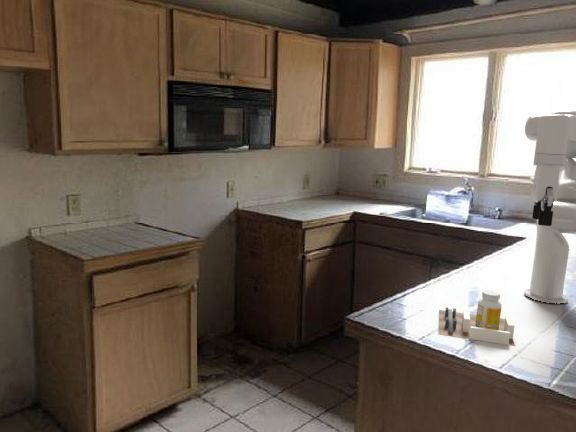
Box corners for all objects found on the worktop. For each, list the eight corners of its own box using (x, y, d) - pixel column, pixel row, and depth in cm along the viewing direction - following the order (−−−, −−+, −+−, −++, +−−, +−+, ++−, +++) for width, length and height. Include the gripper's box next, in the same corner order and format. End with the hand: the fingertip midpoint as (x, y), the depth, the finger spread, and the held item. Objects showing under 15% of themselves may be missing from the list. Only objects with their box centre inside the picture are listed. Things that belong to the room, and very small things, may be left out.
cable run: (445, 312, 143) (445, 305, 143) (454, 313, 142) (455, 306, 142) (445, 333, 128) (445, 324, 128) (456, 334, 127) (457, 326, 127)
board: (438, 312, 145) (439, 309, 145) (505, 321, 140) (506, 319, 140) (438, 337, 127) (438, 334, 127) (514, 349, 122) (515, 345, 122)
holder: (461, 323, 135) (463, 310, 135) (509, 330, 132) (511, 317, 131) (463, 338, 125) (464, 324, 125) (515, 345, 122) (516, 332, 121)
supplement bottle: (471, 329, 131) (475, 292, 130) (480, 324, 135) (484, 287, 134) (493, 336, 127) (498, 297, 126) (501, 330, 132) (506, 293, 130)
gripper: (529, 158, 146) (522, 216, 149) (539, 161, 129) (531, 226, 132) (557, 159, 143) (550, 218, 147) (572, 163, 127) (563, 229, 130)
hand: (541, 222), depth 140 cm, fingers open, 9 cm apart
